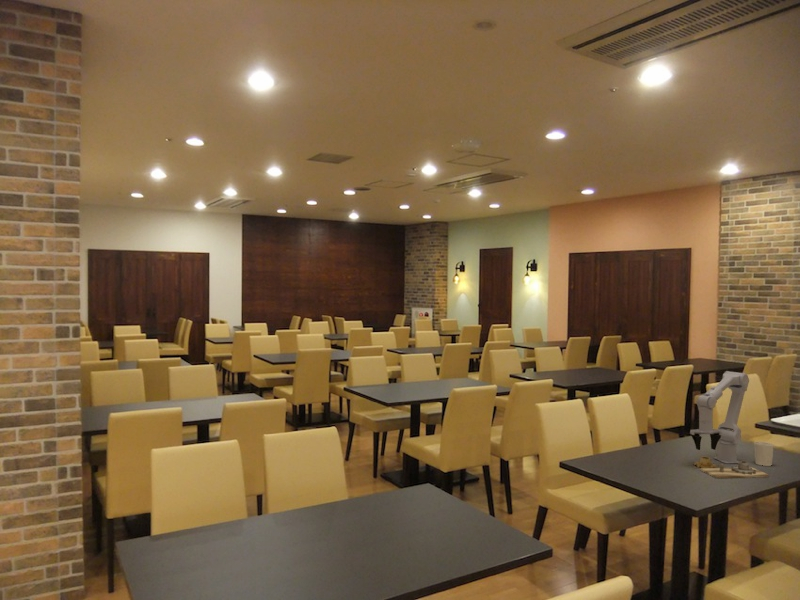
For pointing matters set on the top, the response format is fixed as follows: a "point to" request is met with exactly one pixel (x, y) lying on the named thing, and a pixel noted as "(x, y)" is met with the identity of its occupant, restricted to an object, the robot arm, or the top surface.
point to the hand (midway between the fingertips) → (705, 449)
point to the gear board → (735, 471)
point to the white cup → (763, 453)
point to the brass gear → (705, 463)
